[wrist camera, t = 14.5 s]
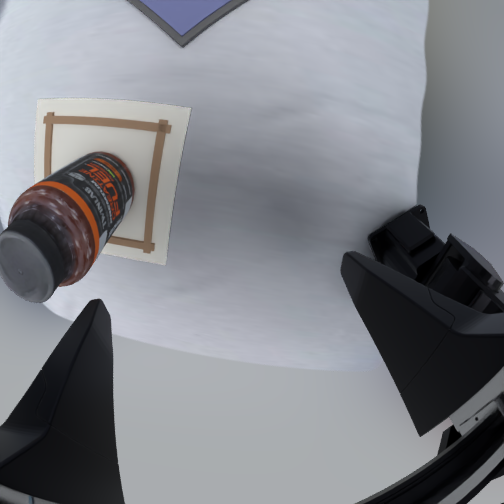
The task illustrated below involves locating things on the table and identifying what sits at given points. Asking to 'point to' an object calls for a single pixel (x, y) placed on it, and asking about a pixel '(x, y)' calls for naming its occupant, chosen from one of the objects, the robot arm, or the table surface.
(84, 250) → the supplement bottle
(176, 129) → the marked sheet
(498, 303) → the robot arm
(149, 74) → the table surface
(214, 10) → the ink pad
